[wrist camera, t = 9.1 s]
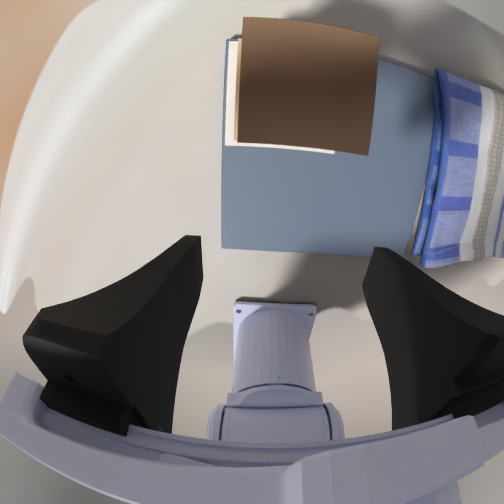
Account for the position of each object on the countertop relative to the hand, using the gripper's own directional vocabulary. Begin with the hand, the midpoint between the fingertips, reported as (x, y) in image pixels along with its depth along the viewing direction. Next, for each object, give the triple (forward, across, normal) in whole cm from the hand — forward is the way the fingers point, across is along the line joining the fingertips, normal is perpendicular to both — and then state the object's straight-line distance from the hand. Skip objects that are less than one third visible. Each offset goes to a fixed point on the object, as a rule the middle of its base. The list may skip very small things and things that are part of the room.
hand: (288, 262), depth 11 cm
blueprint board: (+10, -4, -3) cm, 11 cm away
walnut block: (+5, 0, -7) cm, 8 cm away
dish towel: (+10, -23, -4) cm, 26 cm away
